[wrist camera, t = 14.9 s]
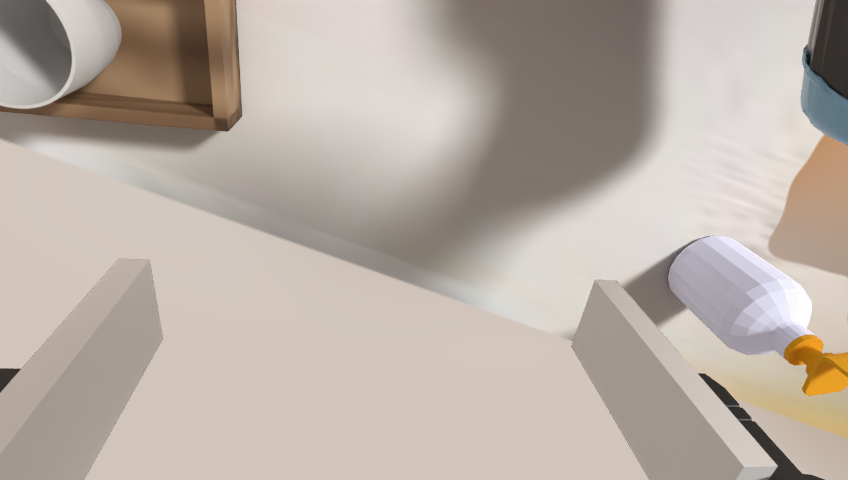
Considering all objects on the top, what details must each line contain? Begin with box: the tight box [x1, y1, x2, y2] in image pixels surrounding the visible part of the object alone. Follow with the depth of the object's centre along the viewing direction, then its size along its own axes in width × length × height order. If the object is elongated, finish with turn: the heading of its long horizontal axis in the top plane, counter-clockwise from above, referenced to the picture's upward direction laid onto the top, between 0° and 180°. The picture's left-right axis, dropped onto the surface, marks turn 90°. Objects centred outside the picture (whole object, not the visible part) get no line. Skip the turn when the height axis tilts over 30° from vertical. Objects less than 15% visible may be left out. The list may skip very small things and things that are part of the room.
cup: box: [0, 0, 122, 109], centre depth 32 cm, size 8×8×10 cm
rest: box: [0, 0, 242, 131], centre depth 35 cm, size 12×16×5 cm
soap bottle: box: [668, 236, 848, 396], centre depth 45 cm, size 9×9×25 cm
